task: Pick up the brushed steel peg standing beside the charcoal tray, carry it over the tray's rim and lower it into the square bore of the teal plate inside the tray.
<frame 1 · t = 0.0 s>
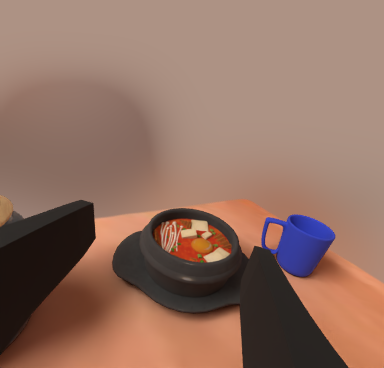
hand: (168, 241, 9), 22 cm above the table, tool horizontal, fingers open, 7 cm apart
mug: (282, 263, 43), on the table
casserole: (185, 270, 36), on the table
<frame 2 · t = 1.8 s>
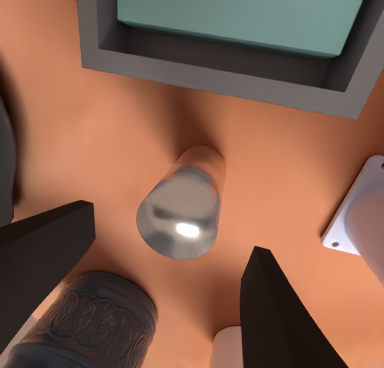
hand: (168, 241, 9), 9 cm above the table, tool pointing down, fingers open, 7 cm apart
candle holder: (246, 344, 26), on the table
canister: (115, 302, 28), on the table
peg: (201, 169, 17), on the table
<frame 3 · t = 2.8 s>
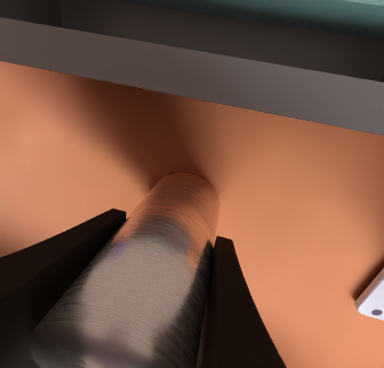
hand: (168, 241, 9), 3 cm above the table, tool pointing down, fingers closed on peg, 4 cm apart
peg: (184, 204, 12), on the table, touching gripper
when the fingers open (5 cm above the table, at t = 7.5 s): peg stays where it is, resting on tray.
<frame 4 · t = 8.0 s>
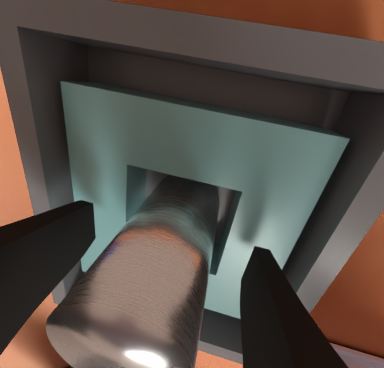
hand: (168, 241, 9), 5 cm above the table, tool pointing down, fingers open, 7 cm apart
peg: (186, 202, 12), point 1 cm above the table, touching tray
tray: (190, 192, 13), on the table
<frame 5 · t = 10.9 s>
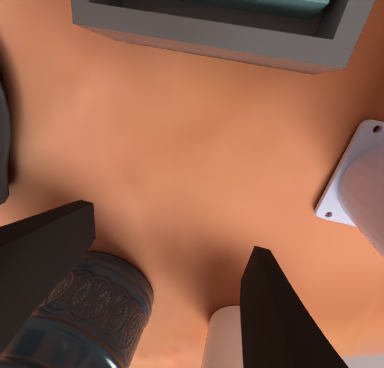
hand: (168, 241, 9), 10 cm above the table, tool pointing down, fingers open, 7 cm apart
candle holder: (242, 325, 26), on the table
canister: (111, 284, 28), on the table
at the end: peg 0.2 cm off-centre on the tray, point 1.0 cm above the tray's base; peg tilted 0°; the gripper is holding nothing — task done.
